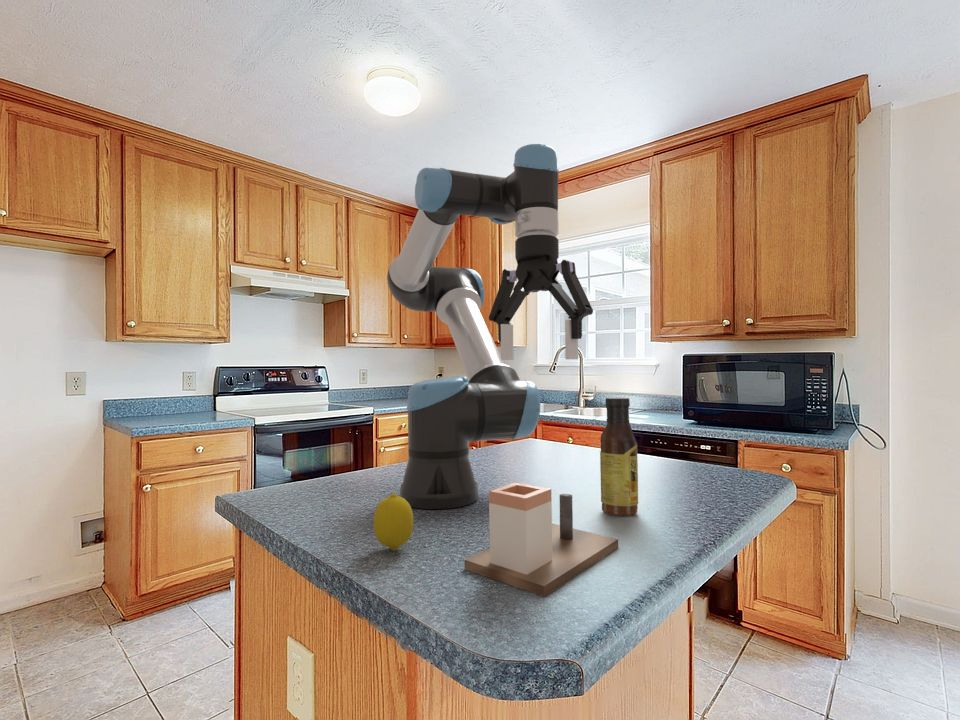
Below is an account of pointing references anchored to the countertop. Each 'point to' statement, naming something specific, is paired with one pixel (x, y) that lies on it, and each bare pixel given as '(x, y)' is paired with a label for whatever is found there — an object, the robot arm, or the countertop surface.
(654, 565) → the countertop surface
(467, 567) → the pin board
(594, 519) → the countertop surface
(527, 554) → the sleeve
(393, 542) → the lemon
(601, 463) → the sauce bottle
